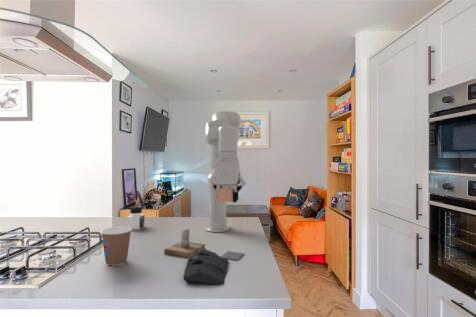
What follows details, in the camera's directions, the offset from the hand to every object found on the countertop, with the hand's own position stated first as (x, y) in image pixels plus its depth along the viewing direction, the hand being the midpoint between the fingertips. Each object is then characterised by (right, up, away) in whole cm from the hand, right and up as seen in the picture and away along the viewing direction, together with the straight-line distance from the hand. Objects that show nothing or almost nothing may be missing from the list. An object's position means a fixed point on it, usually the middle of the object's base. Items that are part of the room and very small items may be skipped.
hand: (227, 201), depth 108 cm
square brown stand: (-18, -22, +5) cm, 29 cm away
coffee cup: (-41, -22, -8) cm, 47 cm away
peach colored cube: (0, 0, 0) cm, 0 cm away
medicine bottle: (-53, -22, +44) cm, 72 cm away
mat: (+2, -22, -1) cm, 22 cm away
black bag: (-7, -22, -15) cm, 28 cm away
